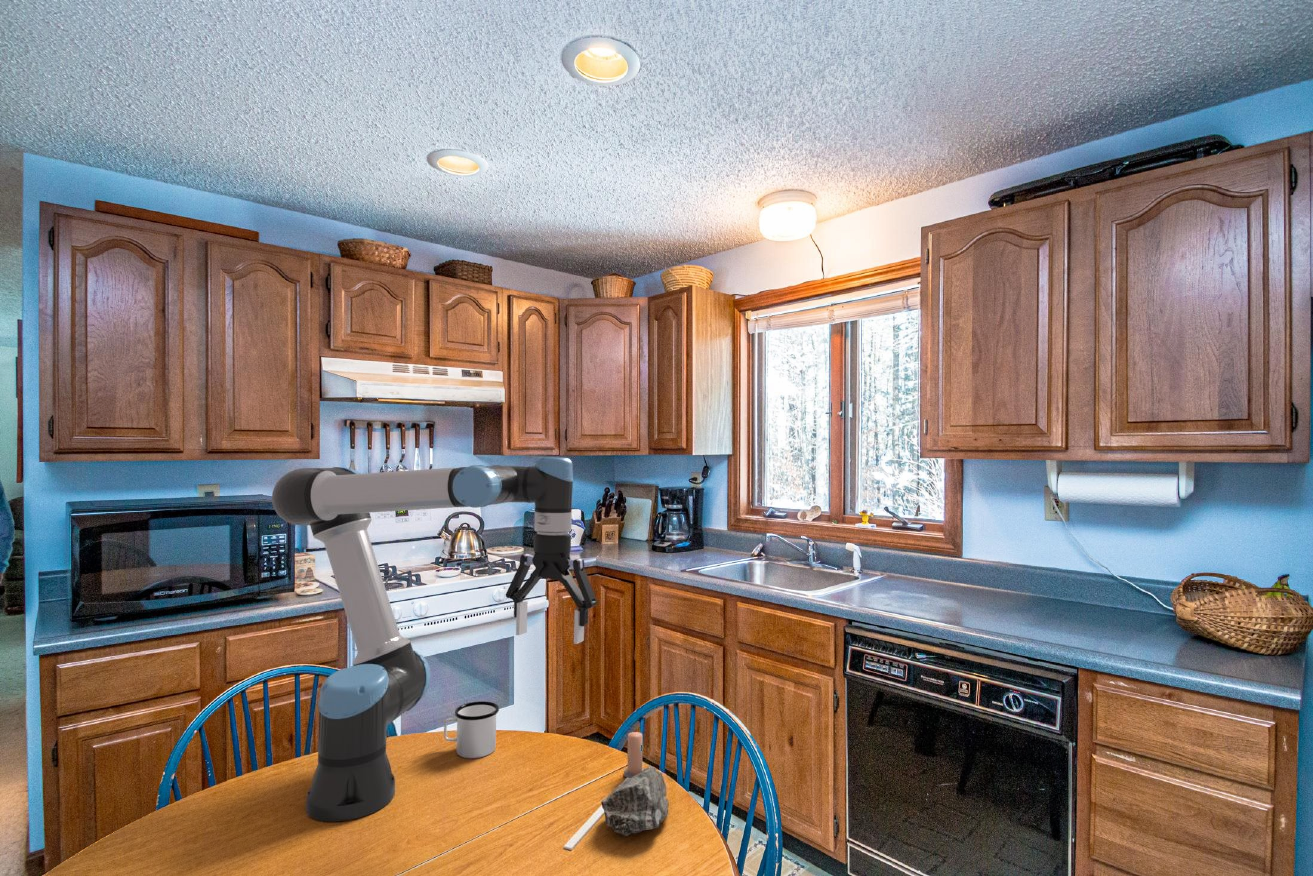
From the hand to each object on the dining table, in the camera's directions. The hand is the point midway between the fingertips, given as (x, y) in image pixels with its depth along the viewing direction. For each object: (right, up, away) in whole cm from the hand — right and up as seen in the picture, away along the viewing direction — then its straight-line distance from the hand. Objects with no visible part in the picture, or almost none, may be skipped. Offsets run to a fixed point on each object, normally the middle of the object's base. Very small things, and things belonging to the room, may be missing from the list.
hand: (549, 638), depth 131 cm
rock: (+18, -28, -15) cm, 37 cm away
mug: (-19, -29, +11) cm, 36 cm away
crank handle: (+13, -28, -11) cm, 32 cm away
